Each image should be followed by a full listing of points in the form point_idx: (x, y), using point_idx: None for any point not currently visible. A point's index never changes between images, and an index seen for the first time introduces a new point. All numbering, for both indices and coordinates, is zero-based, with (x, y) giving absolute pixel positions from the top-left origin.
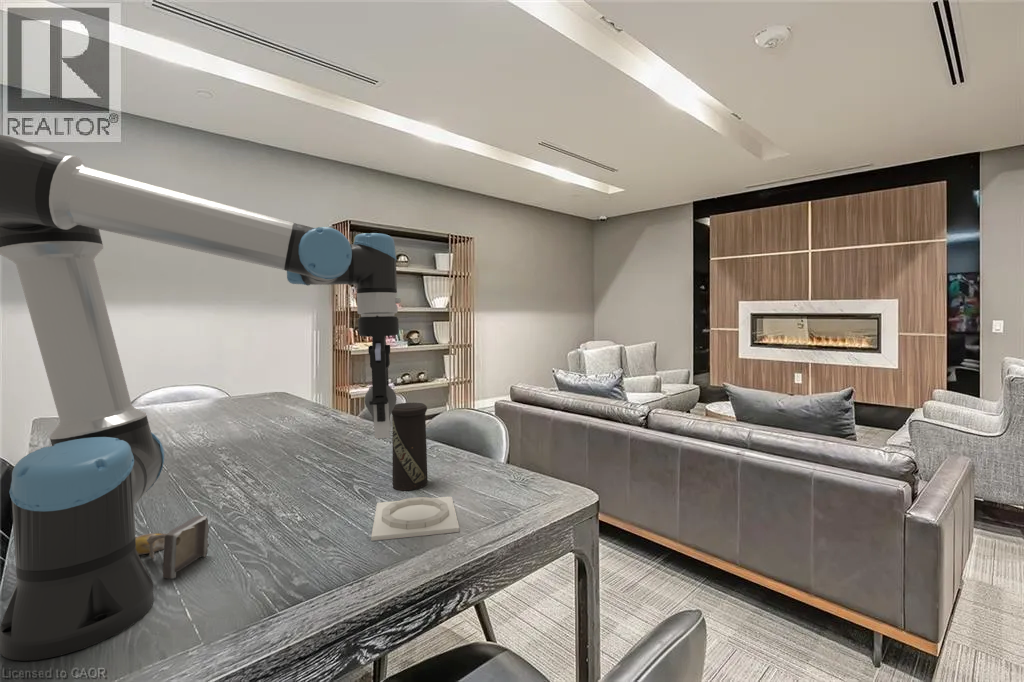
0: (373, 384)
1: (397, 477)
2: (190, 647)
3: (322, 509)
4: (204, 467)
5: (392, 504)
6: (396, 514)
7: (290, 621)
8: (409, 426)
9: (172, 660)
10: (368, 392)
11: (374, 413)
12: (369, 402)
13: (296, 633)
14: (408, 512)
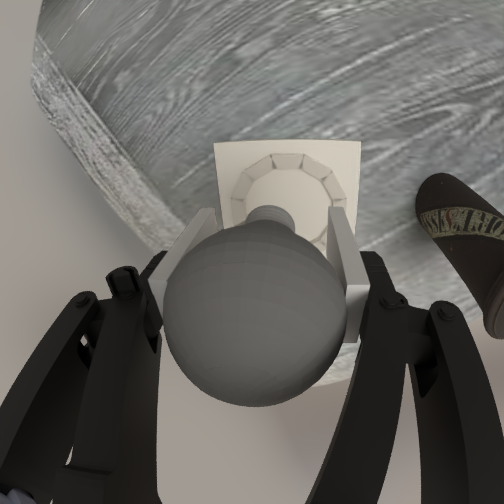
0: (35, 357)
1: (435, 188)
2: (49, 48)
3: (365, 44)
4: None
5: (322, 172)
6: (296, 176)
7: (66, 107)
8: (476, 275)
9: (40, 47)
10: (192, 297)
11: (167, 257)
12: (109, 274)
13: (55, 120)
14: (300, 196)
